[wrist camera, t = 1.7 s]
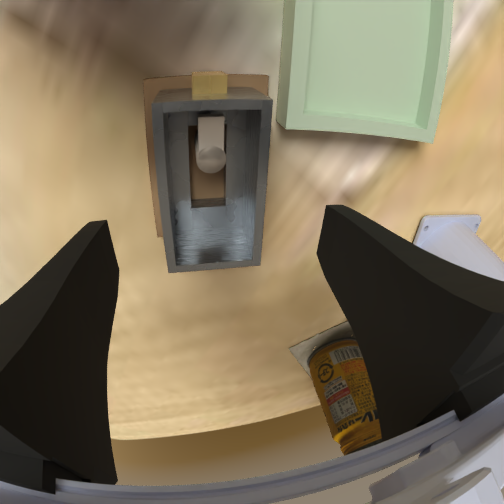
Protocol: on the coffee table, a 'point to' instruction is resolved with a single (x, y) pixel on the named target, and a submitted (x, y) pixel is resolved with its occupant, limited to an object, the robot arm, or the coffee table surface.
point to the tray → (364, 66)
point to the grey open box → (235, 175)
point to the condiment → (342, 387)
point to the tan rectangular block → (196, 139)
